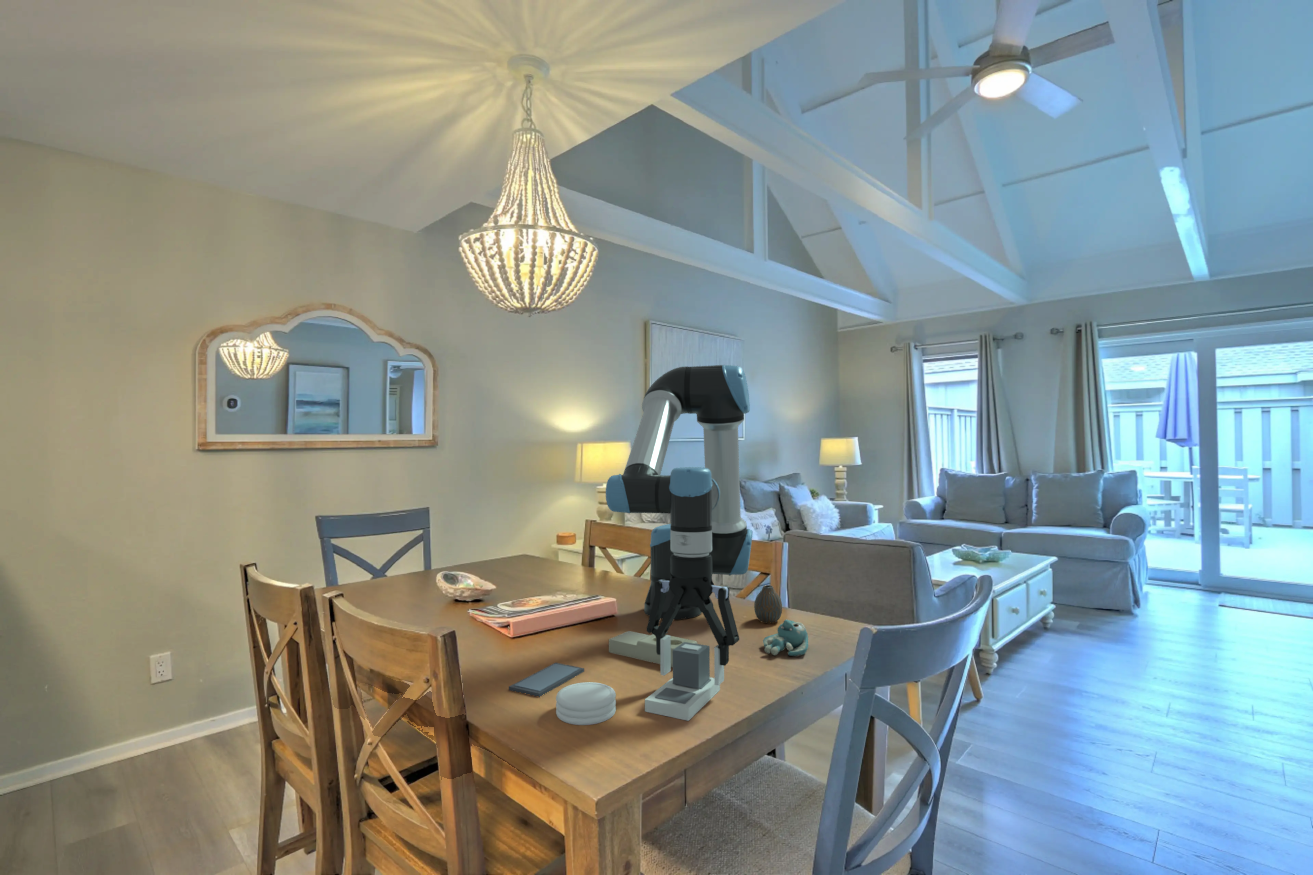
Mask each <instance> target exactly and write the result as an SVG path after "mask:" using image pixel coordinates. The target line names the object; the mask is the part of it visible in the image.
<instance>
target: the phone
mask: <svg viewBox="0 0 1313 875" xmlns="http://www.w3.org/2000/svg"><path fill="white" fill-rule="evenodd" d="M584 672H585V668H584V667H580V666H574V665H569V664H565V663H560V662H553V663H552V664H550V665H548V666H546V667H544V668H542V669H541V670H538V671H537V672H534V673H533V674H531V675H529V676H526V677H525V678H523V679H521V680H519V681H517V682H515V683H513V684H511V685H509V686H508V691H511V692H515V691H516V693H519V692H521V693H520V694H523V693H526V694H525V695H527V694H530V695H529V696H532V695H534V696H533V697H536V696H539V697H538V698H541V697H543V696H544V695H546V694H548V693H550V692H552V691H553V690H555V689H556V688H558V687H560V686H562V685H563V684H565V683H567V682H569V681H570V680H572V679H573V678H576V677H577V676H579V675H581V674H582V673H584ZM575 676H576V677H575ZM549 691H550V692H549ZM547 692H548V693H547ZM545 693H546V694H545ZM543 694H544V695H543ZM542 695H543V696H542ZM540 696H541V697H540Z"/></svg>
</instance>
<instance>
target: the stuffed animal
mask: <svg viewBox="0 0 1313 875" xmlns="http://www.w3.org/2000/svg"><path fill="white" fill-rule="evenodd" d="M762 644H763V646H764V652H765V653H766V654H770V653H771V655H772V656H777V655H779V653H780V652H782V651H784V650H785V649H787V654H788V656H789V657H801V656H803V655H805V654H806V653H807V651H808V648H809V636H808V632H807V629H806V627H805V625H804V624H803V623H802V622H800V621H794V620H790V619H784V621H783V622H782V623H781V624H779V626H778V627H777V633H774V634H771V635H768V636H766V637H764V638H763V640H762Z"/></svg>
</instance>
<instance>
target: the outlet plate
mask: <svg viewBox="0 0 1313 875" xmlns="http://www.w3.org/2000/svg"><path fill="white" fill-rule="evenodd" d="M720 691H721V684H720V685H719V686H718V685H715V677H712V676H710V679H709V680H708V681H707V682H706V683H705V684H704V685H702V686H701V687H700V688H699V689H697V688H692V687H687V686H681V685H676V684H673V677H672V678H670V679H669V680H668V681H666V682H665V683H664V684H663V685H660V687H659V688H657V689H656V690H655V691H654V692H652V693H651V694H650V695H649V696H648V697H646V698H645V699H644V712H645V713H646V712H647V713H650V714H655V715H661V716H666V717H669V718H673V719H678V720H683V721H687V722H688V721H690V720H691V719H692V718H693V717H694V716H695V715H697V713H698V712H699V711H700V710H702V708H703V707H704V706H705V705H706V704H707V703H708V702H710V700H711V699H713V697H715V696H716V695H717V693H719V692H720Z"/></svg>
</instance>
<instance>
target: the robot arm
mask: <svg viewBox="0 0 1313 875" xmlns="http://www.w3.org/2000/svg"><path fill="white" fill-rule="evenodd" d="M745 373H746V372H745V371H744V369H743V368H742V366H740V365H739V366H738V365H731V364H730V365H729V364H728V365H727V364H719V365H718V364H717V365H699V366H698V365H697V366H679V367H676V368H673V369H670V370H668V371H667V372H665V373H663V374H662V375H661V376H660V377H658V378H657V379H656V380H654V382H653V383H652V384H651V385H650V386H649V388H648V389H647V391H646V392H645V394H644V397H643V400H642V404H641V409H642V415H641V419H640V422H639V425H638V429H637V430H636V433H635V434H636V435H635V438H634V440H633V443H632V447H631V449H630V453H629V455H628V458H627V462H626V464H625V468H624V471H623V473H622V474H620V473H619V474H614V475H611V476H610V477H609V478H608V479H607V482H606V485H605V500H606V505H607V507H608V510H610V511H611V512H615V513H624V514H670V515H669V516H670V523H667V524H663V525H658V526H656V527H654V528H653V529H652V530H651V534H650V544H649V548H650V584H649V589H648V591H647V595H646V598H645V601H644V603H643V604H644V610H643V612H644V614H645V615H647V616H648V621H647V625H646V628H645V630H646V632H647V633H648V634H651V635H652V634H654V635H655V636H656V652H657V655H660V661H661V664H660V676H665V675H667V674H669V673H670V672H671V671H672V670H671V668H672V667H671V636H672V635H669V634H668V633H669V629H670V627H671V625H672V623H673V622H674V620H687V619H691V618H695V617H698V616H700V615H702V614H703V618H705V620H706V622H707V625H708V626H709V629H710V630H711V632H712V635H713V637H714V639H715V641H716V643H717V645H715V646H714V648H713V650H714V655H713V656H714V657H713V658H714V663H713V664H714V670H713V671H714V674H713V675H714V678H715V685H718V686H719V685H720V686H721V684H722V683H723V682H724V681H725V667H726V665H727V664H729V661H730V647H731V646H734V645H736V644H737V643H738V642H739V641H740V634H739V631H738V626H737V624H736V620H735V616H734V614H733V609H732V604H731V601H730V591H731V590H730V586H728V585H724V586H720V585H716V584H714V580H713V575H727V576H735V575H736V576H739V575H740V576H741V575H745V574H746V573H747V572H748V571H749V566H750V557H751V552H752V551H751V549H752V541H753V540H752V539H753V535H754V534H753V530H752V529H750V528H748V527H747V521H745V519H743V518H742V516H741V491H740V490H741V487H740V486H741V482H740V454H739V453H740V452H739V451H740V450H739V426H740V425H741V424H742V423H743V422H744V421H745V415H746V414H748V413H749V412H750V410H751V404H750V403H751V402H750V394H749V393H750V392H749V385H748V382H747V381H748V380H747V376H746V374H745ZM685 414H688V415H690V414H692V415H693V414H695V415H696V422H697V423H698V424H699V425H700V426H702V428H703V447H704V448H703V449H704V450H703V451H704V454H703V455H704V467H702V466H701V467H698V466H697V467H693V466H692V467H690V466H689V467H675V468H673V469H672V470H671V471H670V475H669V474H668V475H665V474H664V475H662V474H661V473H662V471H663V466H664V464H665V463H664V462H665V458H666V455H667V451H668V447H669V443H670V439H671V435H672V432H673V429H674V424H675V422H676V421H678V419H679V418H680V416H681V415H685ZM712 594H714V595H715V596H714V597H715V599H717V604H718V608H719V612H720V616H721V619H720V618H719V616H718V614H717V611H716V609H715V608H714V603H713V601H712V599H711V595H712ZM721 620H722V621H721ZM660 621H661V622H660Z"/></svg>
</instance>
